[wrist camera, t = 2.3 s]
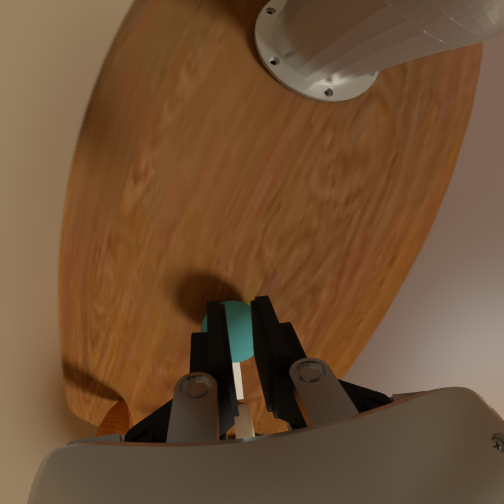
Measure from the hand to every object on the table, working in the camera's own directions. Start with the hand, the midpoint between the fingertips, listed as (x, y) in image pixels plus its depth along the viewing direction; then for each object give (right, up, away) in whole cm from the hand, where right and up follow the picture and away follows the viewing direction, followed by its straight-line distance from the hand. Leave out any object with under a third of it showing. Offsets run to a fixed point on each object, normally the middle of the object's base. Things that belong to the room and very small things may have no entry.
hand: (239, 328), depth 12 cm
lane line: (-1, -12, +20) cm, 24 cm away
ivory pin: (-1, -18, +23) cm, 29 cm away
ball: (-1, -4, +14) cm, 15 cm away
